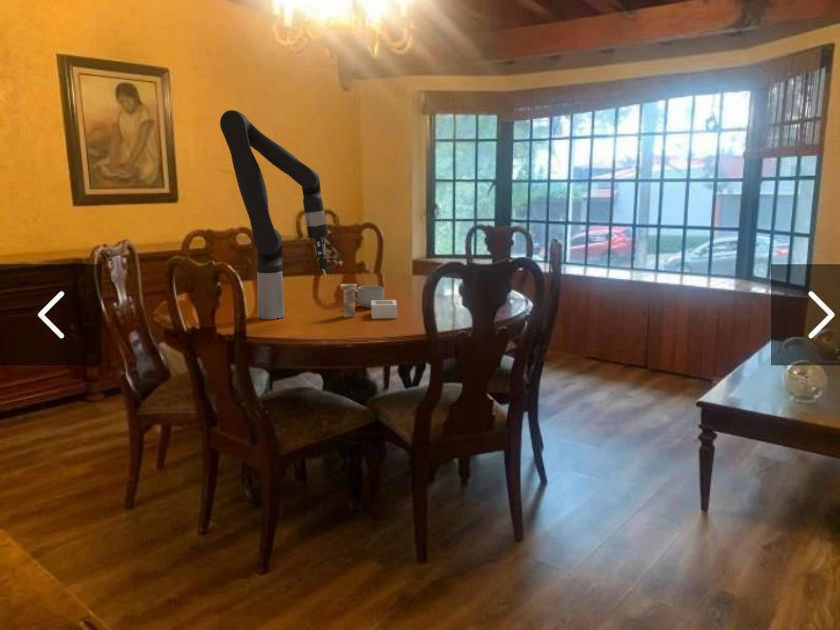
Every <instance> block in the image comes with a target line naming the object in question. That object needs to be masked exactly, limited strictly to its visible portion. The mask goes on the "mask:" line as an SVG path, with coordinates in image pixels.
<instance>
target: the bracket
mask: <svg viewBox="0 0 840 630" xmlns="http://www.w3.org/2000/svg"><path fill="white" fill-rule="evenodd" d="M340 290H341V291H342V290H343V317H344V318H356V303H355V302H356V300H355V298H356V297H355V295H356V294H355V293H354V290H358V284H357V283H340Z"/></svg>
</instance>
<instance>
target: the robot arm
mask: <svg viewBox="0 0 840 630" xmlns="http://www.w3.org/2000/svg"><path fill="white" fill-rule="evenodd" d="M219 127H220V130H221V132H222V136H223V137H224V140H225V141H226V144H227V146H228V149H229V153H230V155H231V161H232V166H233V170H234V174H235V177H236V183H237V186H238V188H239V190H238V191H239V193H240V196H241V200H242V202H243V205H244V207H245V211H246V213H247V215H248V216H247V217H248V218H249V222H250V229H251V233H252V239H253V245H254V247H255V248H256V251H257V255H256V256H257V260H256V279H257V281H256V283H257V292H256V293H257V294H256V296H257V297H256V301H257V304H256V305H257V319H258V318H261V319H260V320H278V319H277V318H279V319H283V318H284V317H285V301H284V300H285V299H284V280H283V279H284V278H283V277H284V276H283V261H284V259H283V254H284V253H283V238H282V235H281V233H280V232H279V231H278V230H277V229H276V228H275V227H274V224H273V221H272V218H271V215H270V211H269V199H268V191H267V187H266V183H265V180H264V179H265V178H264V175H263V173H262V170H261V168H260V165H259V163H258V161H257V159H256V157H255V155H254V153H253V150H252V149H254V150H255V151H256V152H257V153H259V154H260V155H261V156H262V157H263V158H264V159H266V160H267V161H268V162H269V163H271V164H272V165H273V166H274V167H275V168H277V169H278V170H279V171H281V172H282V173H284V174H286V175H287V176H289V177H290V179H292V180H293V181H294V182H296V183H297V185H300V186H301V190H302V196H303V198H302V202H303V203H302V204H303V209H304V221H305V227H306V232H307V238H309V239H314V243H313V245H314V249H315V254H316V258H317V260H318V265H319V270H325V269H327V267H326V266H327V265H328V264H327V263H328V262H327V257H326V255H327V254H326V253H327V250H326V249H327V248H326V241H325V239H324V238H325V237H328V236H329V230H328V229H329V228H328V223H327V217H326V213H325V209H324V204H323V199H322V192H321V189H322V188H321V182H320V176H319V174H318V172H317V171H315V170H314V169H312V168H310V167H309V166H308V165H306V164H304V163H303V162H302V161H300V160H299V158H297V157H296V156H295V155H294V154H292V153H291V152H289V151H288V150H287V149H286V148H284V147H282V145H280V144H278V143H276V142H275V141H273V140H272V139H271V138H269V137H267V135H265V134H264V133H262V131H260V130H259V129H258V128H256V126H255V125H254V124H253V123H252V122H251V121H250V120H249V119H248V117H246V115H245V114H244V113H242V112H240V111H237V110H235V109H234V110H232V109H229V110H226V111H225V112H223V114H222V115H221V117H220V120H219ZM282 317H283V318H282Z"/></svg>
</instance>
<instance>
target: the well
mask: <svg viewBox="0 0 840 630" xmlns="http://www.w3.org/2000/svg"><path fill="white" fill-rule="evenodd" d="M370 310H371V311H370V313H371V319H373V320H374V319H399V318H398V317H399V316H398V303H397V300H396V299H384V300H371V308H370Z"/></svg>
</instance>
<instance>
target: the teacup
mask: <svg viewBox="0 0 840 630" xmlns="http://www.w3.org/2000/svg"><path fill="white" fill-rule="evenodd" d="M355 293H357V298H356V297H355V302H357V303H358V304H359V305H360V306H362V307H363V308H366V309H371V300H385V299H384V297H385V287H383V286H379V285H361V286H357V289H356V290H354V294H355Z"/></svg>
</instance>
